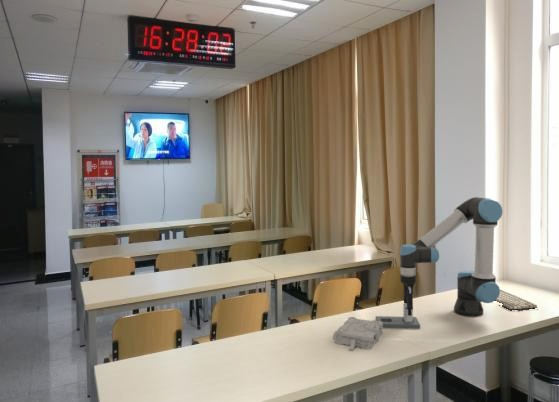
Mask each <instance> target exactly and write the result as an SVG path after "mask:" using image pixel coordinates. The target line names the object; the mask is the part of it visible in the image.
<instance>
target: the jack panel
mask: <svg viewBox="0 0 559 402" xmlns="http://www.w3.org/2000/svg"><path fill="white" fill-rule="evenodd" d="M375 321H381V322H383V326H382V327H383V328H382V329H407V330H408V329H410V330H411V329H413V330H414V329H415V330H418V329H419V330H420V329H421V323H420V322H419V320H418V318H417V317H416V316H413V322H404V316H389V315H388V316H387V315H386V316H385V315H379V316H378V315H375Z"/></svg>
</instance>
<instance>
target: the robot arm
mask: <svg viewBox="0 0 559 402" xmlns="http://www.w3.org/2000/svg"><path fill="white" fill-rule="evenodd" d="M503 212H504V211H503V206H502V205H501V203H500V202H499V201H498V200H496V199H494V198H490V197H477V196H474V197H471V198H468V199H467V200H465V201H463V202H462V203H461V204H460V205H458V206H457V207H456V208H454V210H453V213H451V214H449V216H447V217H446V218H444V220H442V221H441V222H440V223H438V224H437V225H435V226H434V228H432V229H430V230H429V231H428V232H427V233H426V234H424V235H423V236H421V237H420V238H419V239H418V240H416V241H415V242H411V243H409V244H402V245H401V246H400V249H399V254H400V268H399V269H398V270H399V271H400V275H399V276H400V280H399V281H400V283H401V284H403V300H402V301H403V304H405V303H407V308H406V321H412V309H413V310H414V299H413V298H414V296H413V293H414V290H413V286H412V284H413V285H414V284H416V283H417V281H416V279H417V277H416V274H417V273H416V272H417V269H416V268H417V267H416V266H417V264H426V263H427V264H429V263H431V264H433V263H438V262H439V260H440V259H439V258H440V252H439V249H437V247H435V246H436V245H437V244H439V242H441V241H443V239H445V238H446V237H448V235H450V234H451V233H452V232H454V231H455V230H456V229H458V228H459V227H460V226H461V225H462V224H467V223H468V222H469V221H470V222H471V221H472V225H474V227H475V248H474V250H475V251H474V252H475V253H474V271H473V270H469V271H468V270H467V271H466V270H465V271H458V273H457V276H456V277H457V279H456V280H457V281H456V282H457V286H456V287H457V295H456V297H457V299H456V301H455V303H454V307H453V313H455V314H456V315H459V316H464V317H472V318H473V317H481V316H483V315H484V307H483V304H482V303H485V304H491V303H493V301H495V300H496V299H497V298H498V296H499V294H500V290H501V289H500V286H499V285H498V284H497V283H496V282H497V281H496V278H497V276H496V275H495V274H494V273H493V271H494V244H495V243H494V242H495V241H494V240H495V239H494V238H495V228H496V227H497V225H498V222H499V220H500V219H501V218H502V216H503ZM409 306H411V307H409Z"/></svg>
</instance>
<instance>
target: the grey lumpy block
mask: <svg viewBox="0 0 559 402" xmlns="http://www.w3.org/2000/svg"><path fill="white" fill-rule="evenodd" d="M382 326H383V322H381V321H376V320H368V319H362V318H357V317H354V316H350V317H347V320H345V322H344V323H343V325H340V327H338V329H337V330H335V332H334V333H333V336H332V337H333V340H334V342H335V344H337V345H346V346H349V347H348V350H350V351H354V350H355V347H359V348H361V349H367V350H372V349H373V347H374V346H375V344H376V343H378V342H379V341H380V339H381V338H380V336H381V335H382V334H383V333H384V330H383V329H384V328H383V327H382Z"/></svg>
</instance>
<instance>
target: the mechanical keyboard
mask: <svg viewBox="0 0 559 402" xmlns="http://www.w3.org/2000/svg"><path fill="white" fill-rule="evenodd" d="M495 301H497V302H499V303H502V304H503V305H502V307H504V308H506V309H508V310H510V311H509V312H513V311H512V310H519V311H518V312H524V311H523V310H525V311H530V310H529V309H535V308H538V305H537V304H536V303H533V302H532V301H529V300H526V299H524V298H523V297H520V296H516V295H515V294H512V293H509V292H507V291H505V290H503V289H500V294H499V296H498V298H497V299H496V300H495ZM502 307H501V308H502ZM504 308H503V309H504ZM506 309H505V310H506ZM508 310H507V311H508Z"/></svg>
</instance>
